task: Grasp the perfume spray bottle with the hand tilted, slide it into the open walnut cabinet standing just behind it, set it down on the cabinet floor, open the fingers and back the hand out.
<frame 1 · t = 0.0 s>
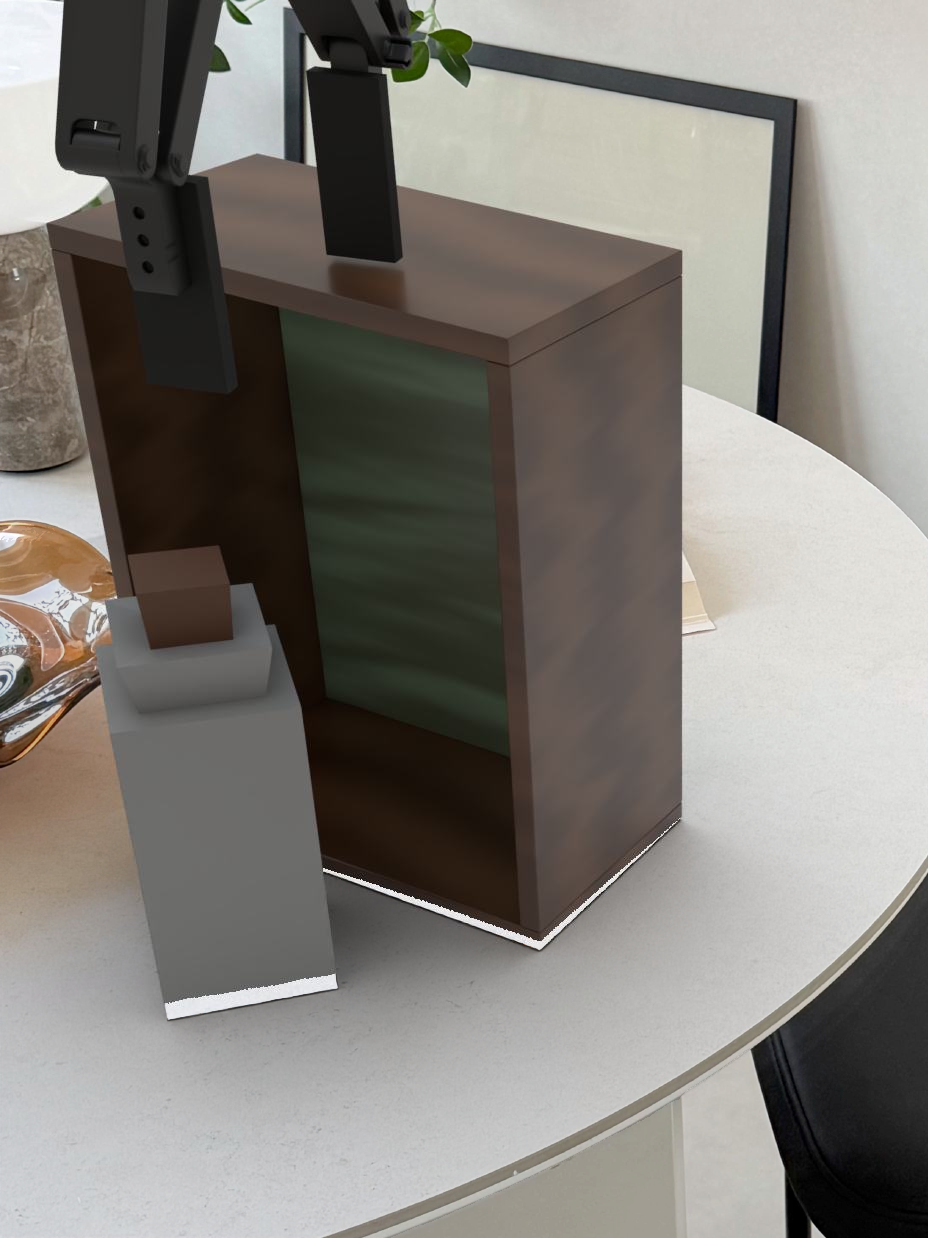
hand: (285, 317, 68), 27 cm above the table, tool pointing down, fingers open, 13 cm apart
perfume bottle: (243, 960, 82), on the table
cabinet: (423, 815, 92), on the table
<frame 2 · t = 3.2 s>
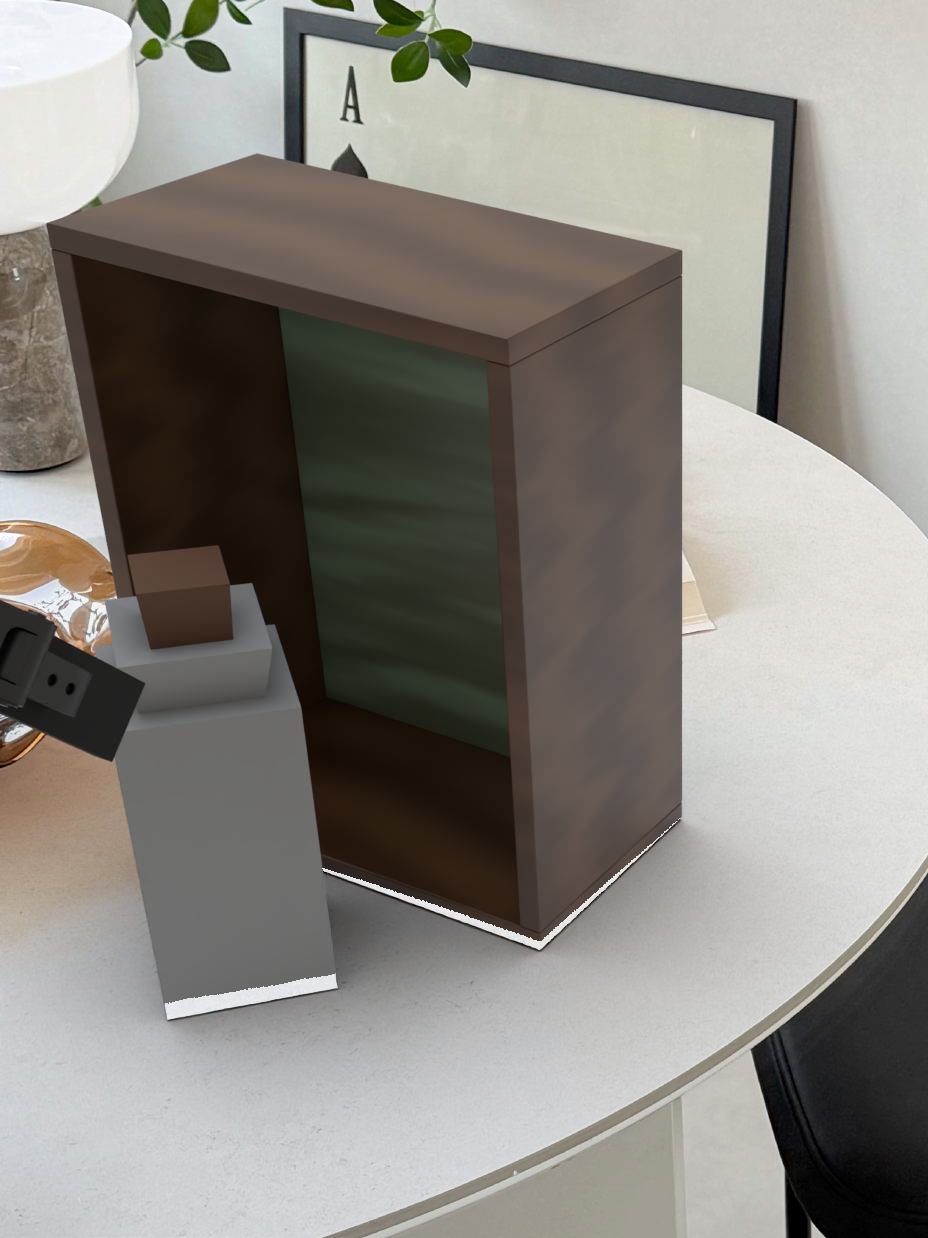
nothing on the table moved.
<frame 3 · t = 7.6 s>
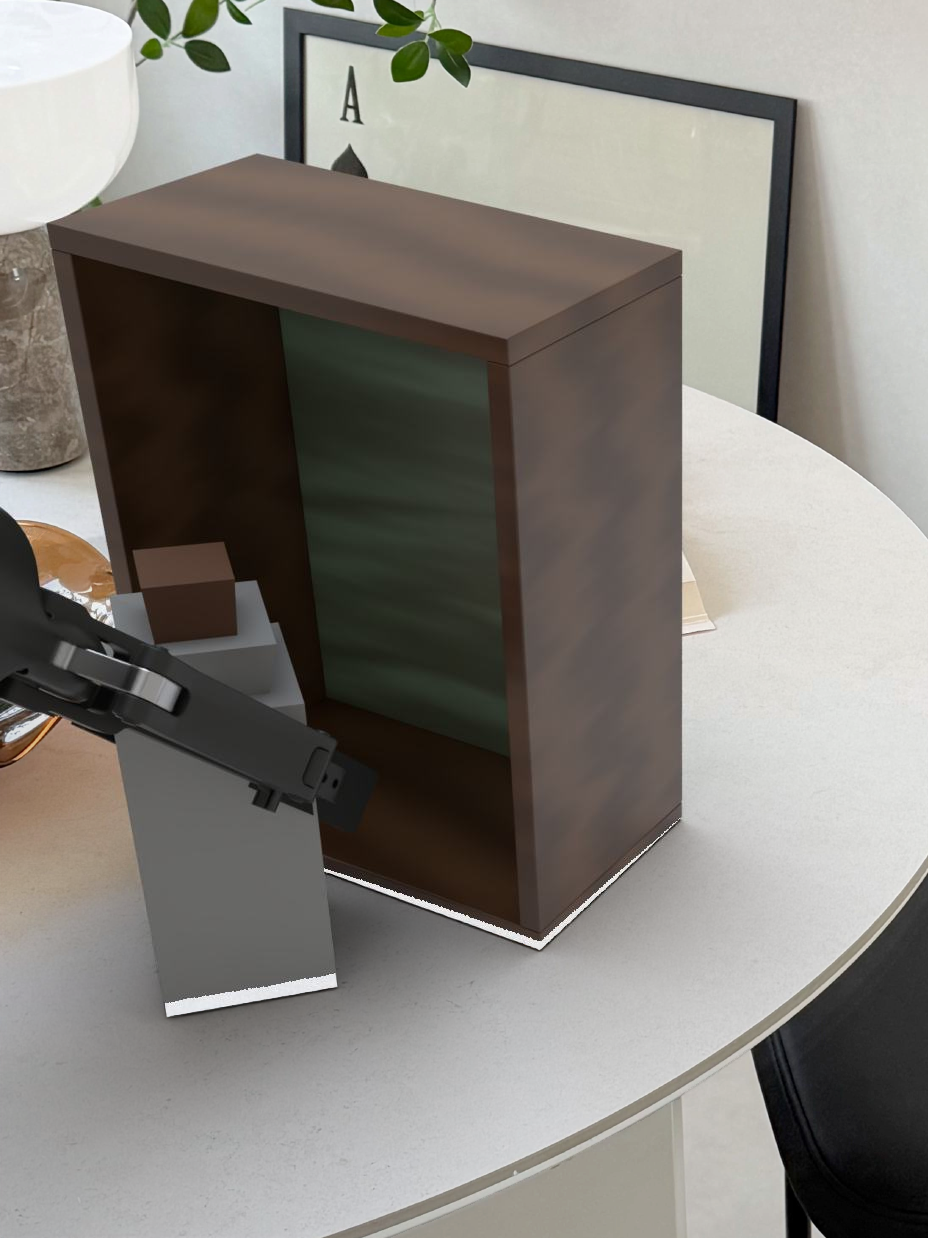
hand: (274, 771, 81), 7 cm above the table, tool tilted 45°, fingers closed on perfume bottle, 8 cm apart
perfume bottle: (243, 958, 82), on the table, touching gripper
everything else where it was.
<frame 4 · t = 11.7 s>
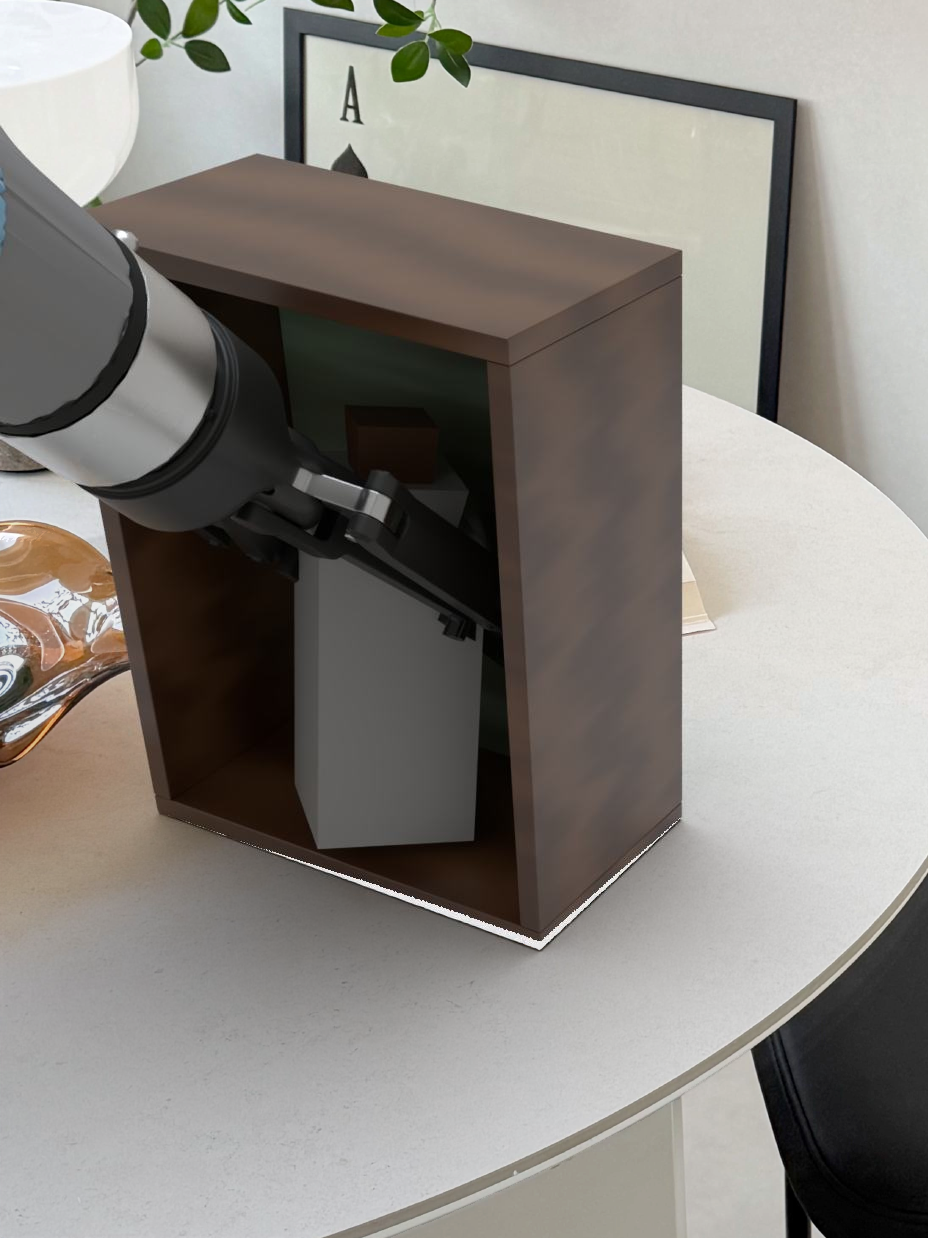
hand: (447, 620, 89), 9 cm above the table, tool tilted 45°, fingers closed on perfume bottle, 8 cm apart
perfume bottle: (382, 815, 89), point 2 cm above the table, touching cabinet, gripper
everything else where it was.
when the fingers open (10 cm above the table, at t = 12.5 s): perfume bottle stays where it is, point 2 cm above the table.
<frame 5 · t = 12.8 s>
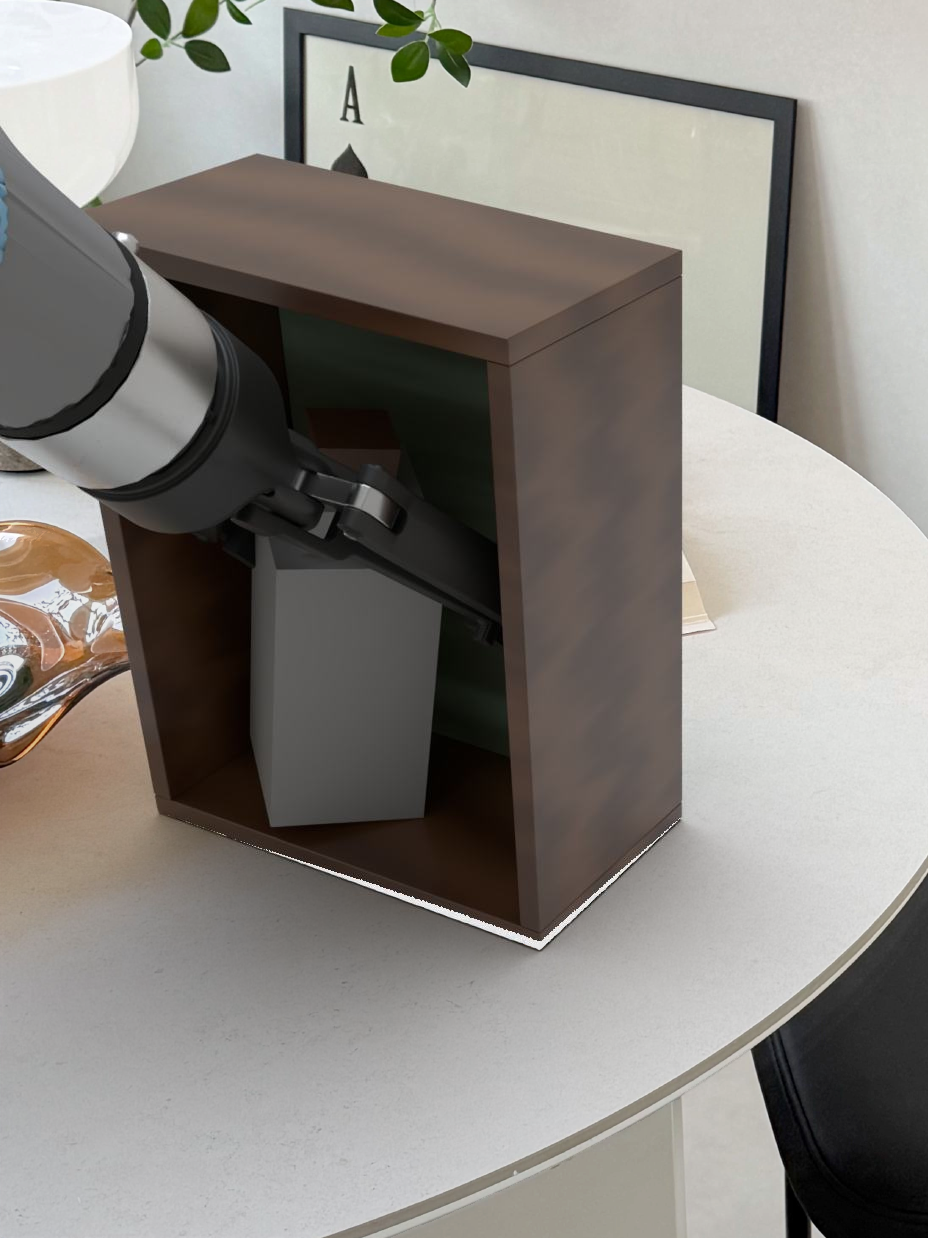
hand: (434, 612, 88), 10 cm above the table, tool tilted 45°, fingers open, 12 cm apart
perfume bottle: (335, 779, 91), point 2 cm above the table, touching gripper
everything else where it was.
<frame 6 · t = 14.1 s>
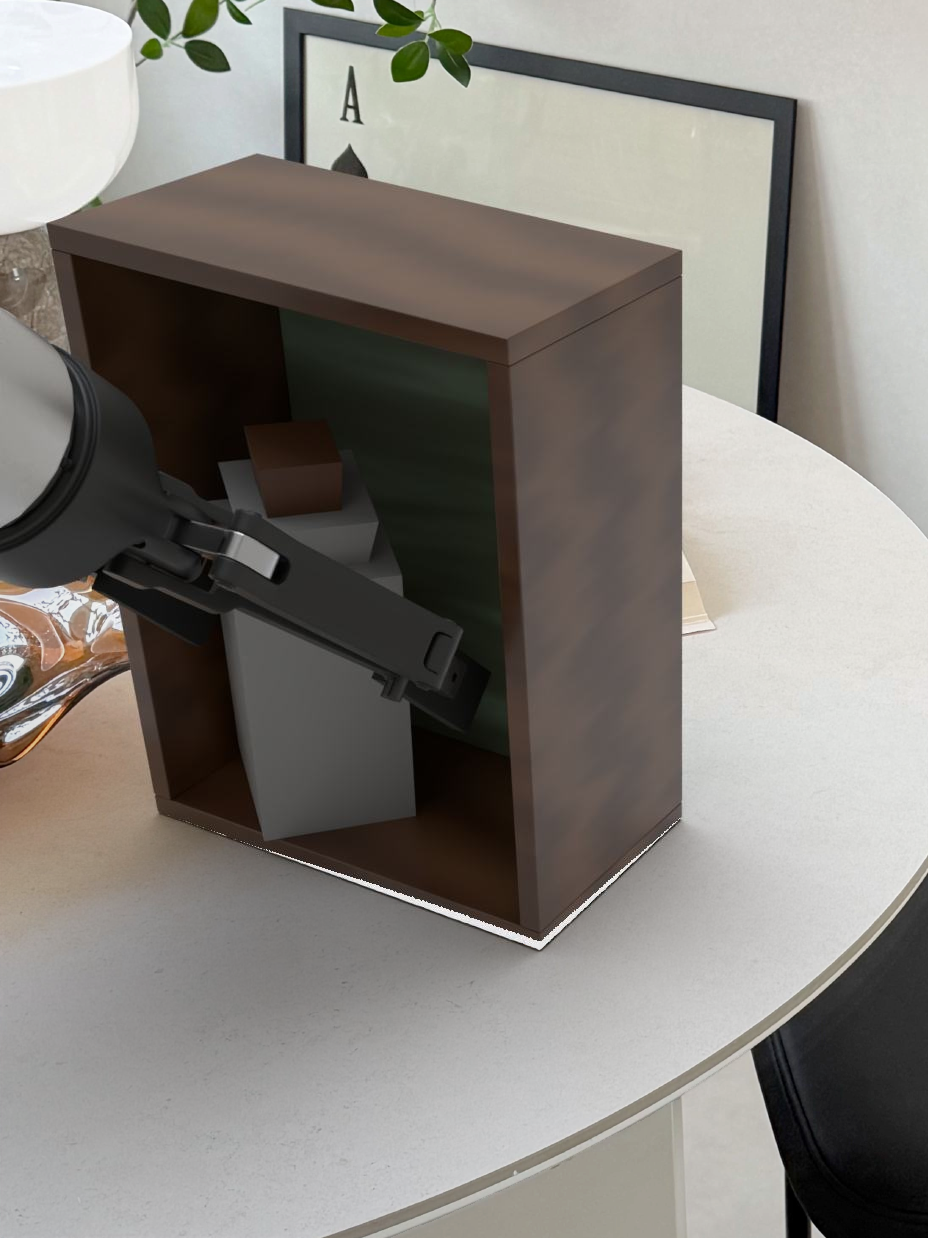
hand: (336, 658, 82), 11 cm above the table, tool tilted 45°, fingers open, 13 cm apart
perfume bottle: (326, 783, 91), point 1 cm above the table, touching cabinet
everything else where it was.
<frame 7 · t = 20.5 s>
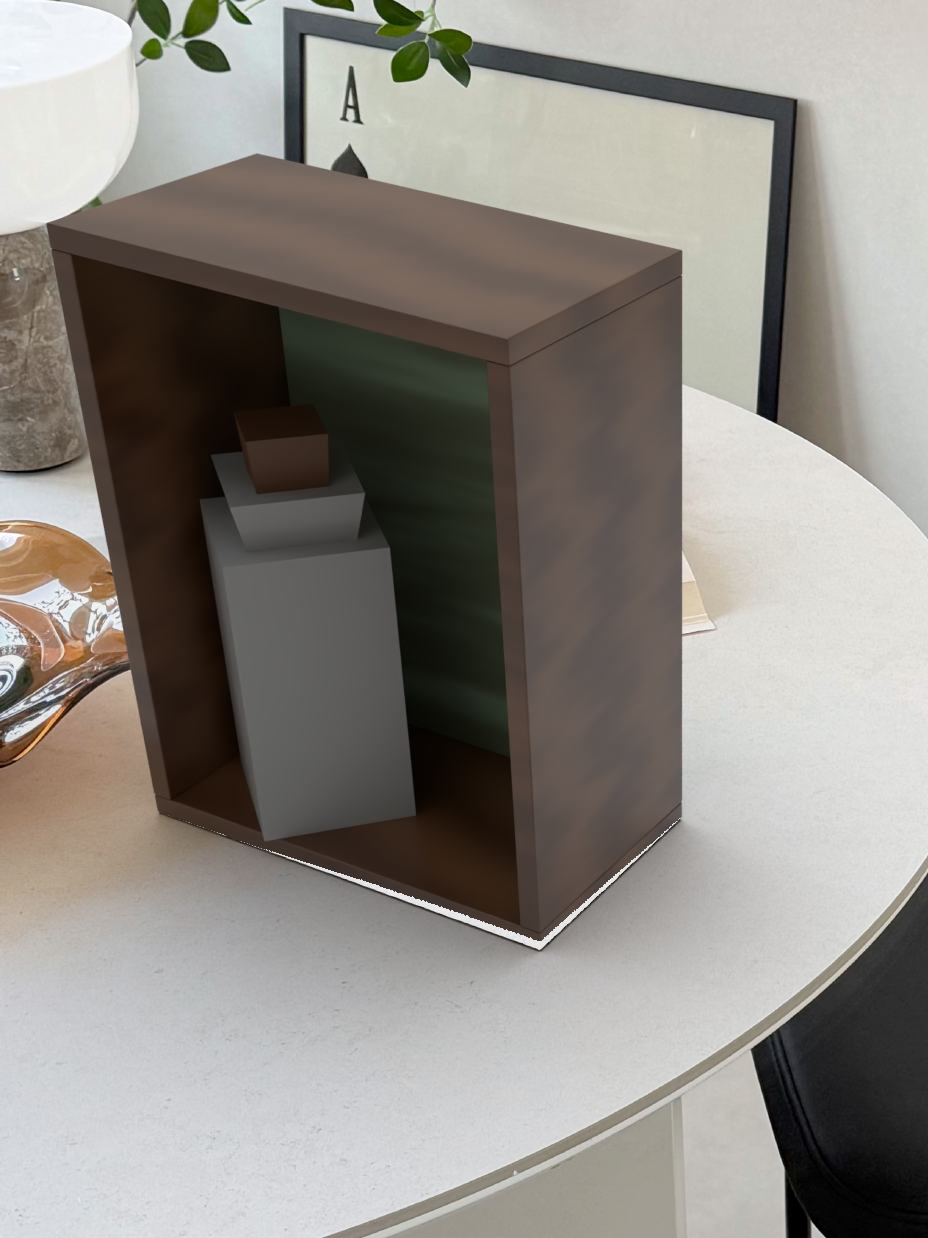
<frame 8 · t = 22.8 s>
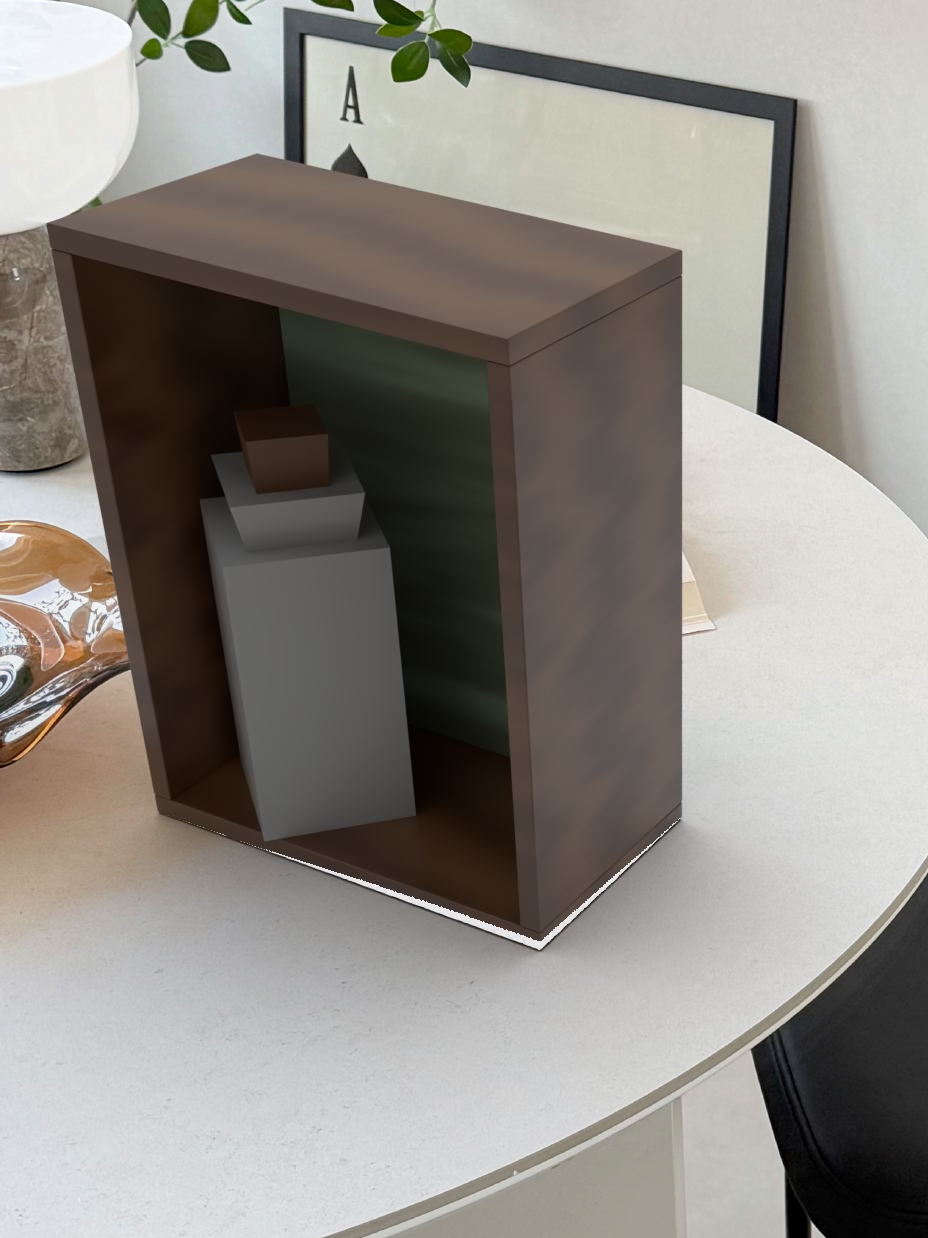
at the end: perfume bottle inside the target area on the cabinet (4.4 cm from its centre), point 0.8 cm above the cabinet's base; perfume bottle tilted 0°; the gripper is holding nothing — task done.
